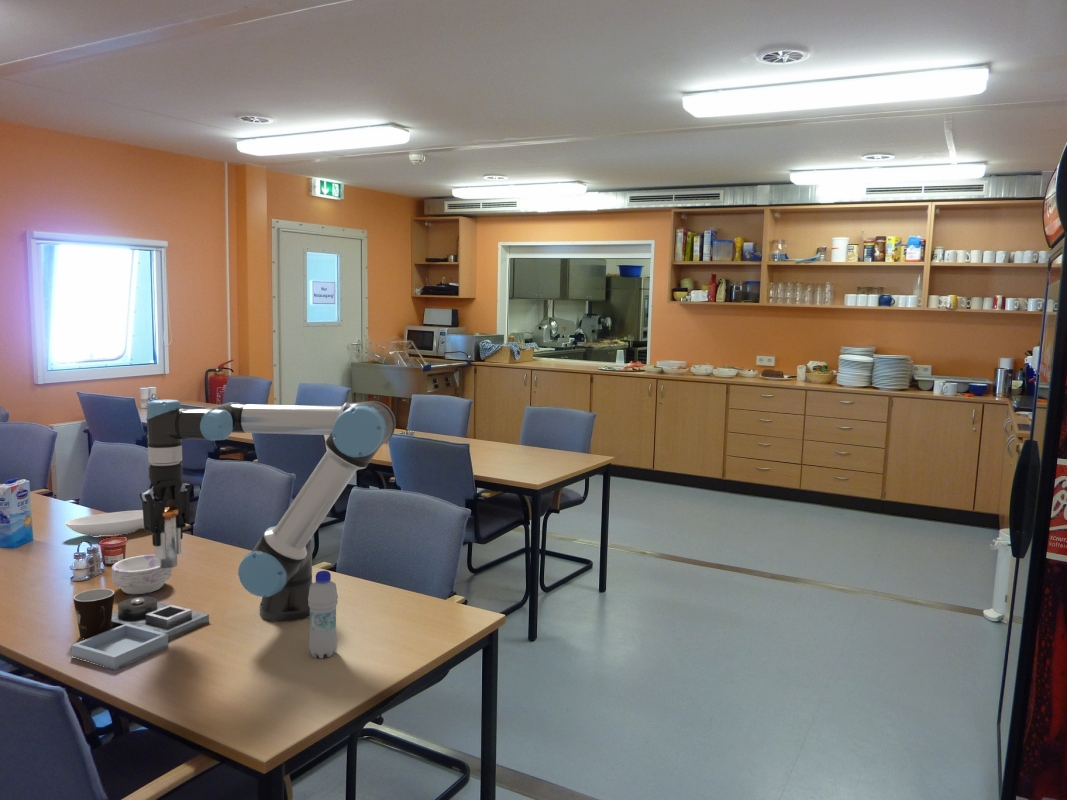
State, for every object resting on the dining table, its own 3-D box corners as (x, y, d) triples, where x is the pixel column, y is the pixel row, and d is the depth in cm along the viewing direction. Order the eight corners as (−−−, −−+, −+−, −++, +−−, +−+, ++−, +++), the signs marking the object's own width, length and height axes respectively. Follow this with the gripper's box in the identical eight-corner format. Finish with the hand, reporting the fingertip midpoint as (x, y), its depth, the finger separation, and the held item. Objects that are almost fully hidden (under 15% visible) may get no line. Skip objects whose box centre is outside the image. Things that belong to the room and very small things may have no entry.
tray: (168, 646, 180) (167, 634, 179) (114, 670, 167) (114, 657, 167) (126, 635, 185) (126, 623, 185) (71, 657, 173) (71, 644, 172)
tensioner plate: (209, 622, 195) (208, 602, 194) (162, 642, 182) (162, 621, 181) (147, 607, 203) (147, 588, 203) (99, 625, 191) (99, 605, 190)
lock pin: (184, 564, 190) (183, 508, 189) (167, 570, 186) (165, 513, 184) (169, 561, 192) (168, 506, 191) (152, 567, 188) (150, 511, 186)
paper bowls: (99, 595, 211) (98, 567, 210) (139, 577, 226) (139, 551, 225) (146, 601, 208) (145, 573, 207) (184, 583, 222) (183, 556, 222)
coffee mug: (78, 629, 188) (77, 590, 187) (118, 625, 191) (116, 587, 190) (68, 649, 177) (67, 607, 176) (110, 644, 180) (109, 603, 179)
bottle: (326, 645, 182) (326, 564, 180) (343, 653, 178) (343, 571, 176) (302, 654, 177) (301, 571, 175) (319, 663, 173) (319, 578, 171)
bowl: (155, 523, 285) (154, 507, 285) (165, 532, 274) (165, 515, 273) (62, 535, 266) (61, 518, 266) (69, 546, 255) (68, 528, 254)
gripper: (182, 456, 196) (185, 544, 198) (123, 467, 180) (127, 563, 183) (204, 458, 193) (206, 548, 195) (146, 470, 177) (149, 567, 180)
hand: (168, 555), depth 189 cm, fingers closed on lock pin, 4 cm apart
